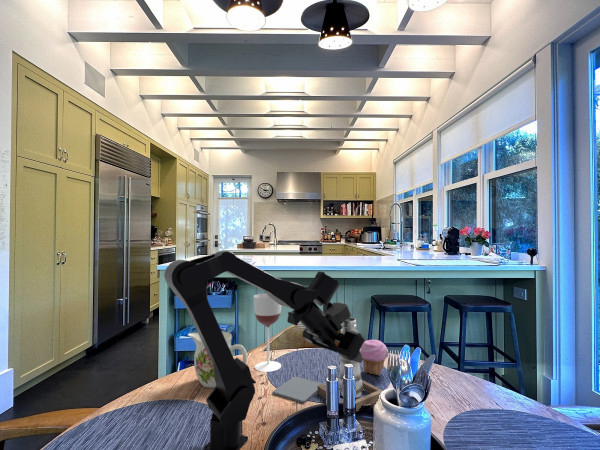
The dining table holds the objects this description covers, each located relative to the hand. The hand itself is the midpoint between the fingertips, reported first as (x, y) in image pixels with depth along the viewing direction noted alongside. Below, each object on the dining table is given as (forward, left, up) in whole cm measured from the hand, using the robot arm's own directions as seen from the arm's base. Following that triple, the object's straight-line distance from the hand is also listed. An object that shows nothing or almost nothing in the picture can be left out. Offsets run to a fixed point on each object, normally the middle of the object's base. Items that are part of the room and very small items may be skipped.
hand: (348, 355), depth 82 cm
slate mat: (-2, +14, -11) cm, 17 cm away
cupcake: (+17, -3, -11) cm, 21 cm away
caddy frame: (0, 0, -11) cm, 11 cm away
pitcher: (-7, +38, -11) cm, 40 cm away
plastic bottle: (0, 0, -11) cm, 11 cm away
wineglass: (+9, +30, -11) cm, 33 cm away
